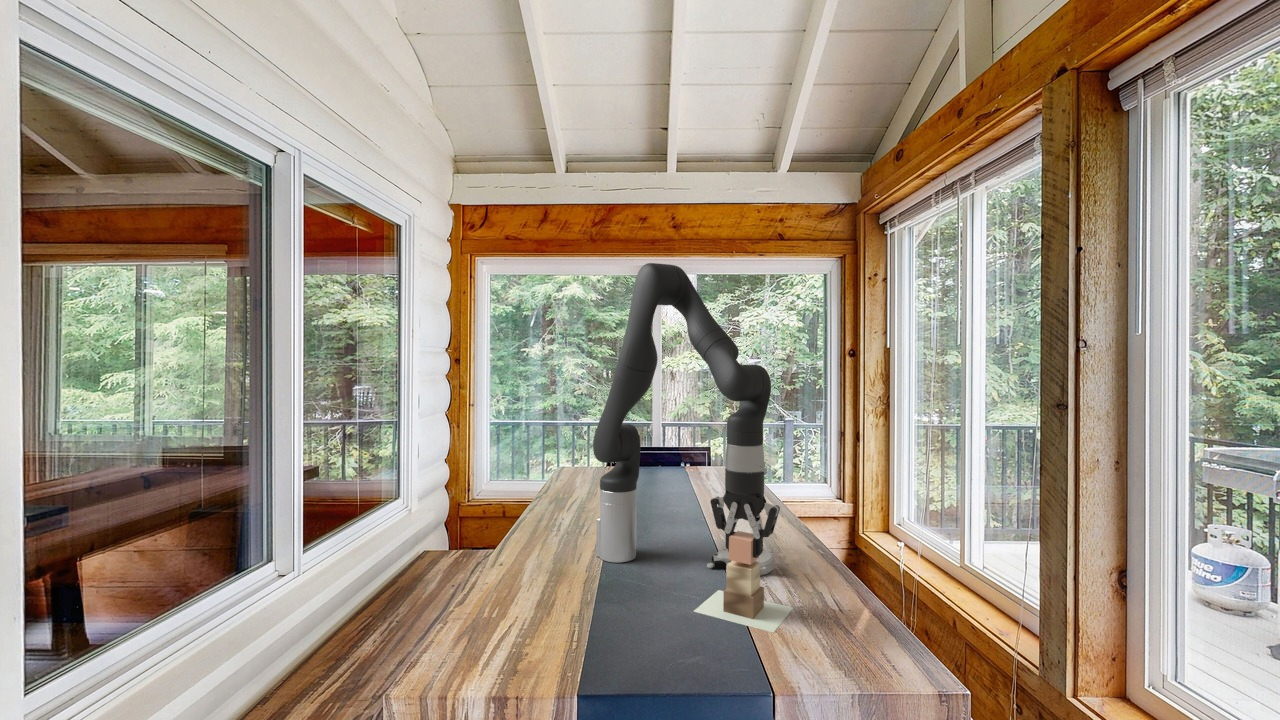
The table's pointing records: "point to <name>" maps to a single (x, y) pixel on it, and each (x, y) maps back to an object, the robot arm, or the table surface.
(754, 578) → the maple block
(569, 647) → the table surface
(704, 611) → the board
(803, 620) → the table surface
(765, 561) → the robot toy
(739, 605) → the walnut block
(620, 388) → the robot arm
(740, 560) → the terracotta block
